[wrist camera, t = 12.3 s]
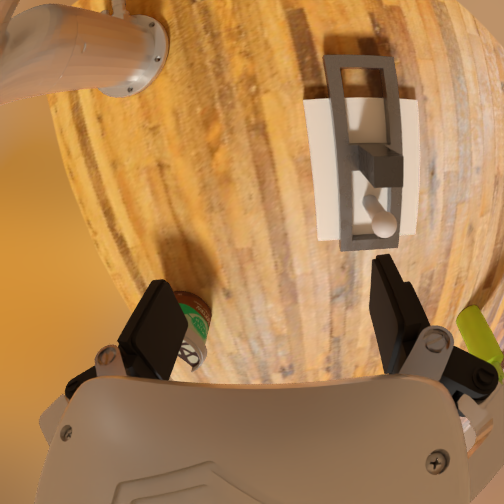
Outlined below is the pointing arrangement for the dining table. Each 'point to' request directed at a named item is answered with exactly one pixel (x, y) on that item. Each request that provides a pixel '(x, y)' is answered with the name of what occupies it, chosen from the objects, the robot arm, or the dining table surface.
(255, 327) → the dining table surface
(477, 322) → the soap dispenser
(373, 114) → the white pegged base
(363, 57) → the grey frame with handle
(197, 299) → the food container
